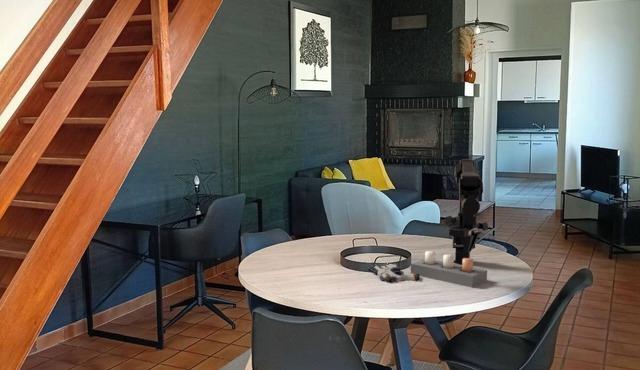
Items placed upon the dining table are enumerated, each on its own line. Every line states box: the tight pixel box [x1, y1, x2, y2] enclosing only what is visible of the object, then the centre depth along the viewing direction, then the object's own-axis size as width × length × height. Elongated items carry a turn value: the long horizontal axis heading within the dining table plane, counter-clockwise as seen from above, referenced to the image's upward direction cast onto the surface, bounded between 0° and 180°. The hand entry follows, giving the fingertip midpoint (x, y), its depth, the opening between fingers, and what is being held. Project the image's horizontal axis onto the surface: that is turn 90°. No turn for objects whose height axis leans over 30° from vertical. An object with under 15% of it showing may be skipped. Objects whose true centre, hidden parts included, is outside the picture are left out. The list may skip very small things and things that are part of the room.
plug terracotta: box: [461, 257, 474, 273], centre depth 225 cm, size 4×4×5 cm
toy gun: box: [368, 262, 421, 283], centre depth 235 cm, size 3×20×15 cm
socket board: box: [410, 258, 488, 288], centre depth 231 cm, size 11×26×4 cm, turn 47°
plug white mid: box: [442, 253, 455, 269], centre depth 231 cm, size 4×4×5 cm
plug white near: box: [424, 250, 436, 265], centre depth 236 cm, size 4×4×5 cm
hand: (467, 252), depth 225 cm, fingers closed
